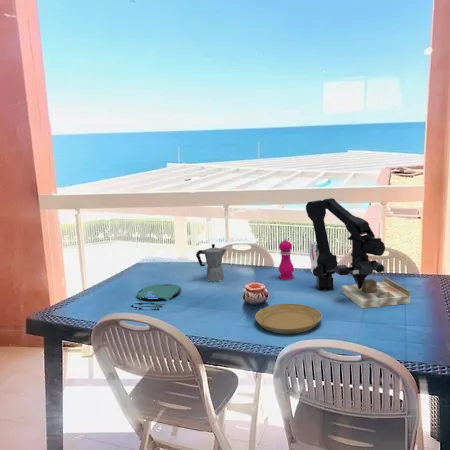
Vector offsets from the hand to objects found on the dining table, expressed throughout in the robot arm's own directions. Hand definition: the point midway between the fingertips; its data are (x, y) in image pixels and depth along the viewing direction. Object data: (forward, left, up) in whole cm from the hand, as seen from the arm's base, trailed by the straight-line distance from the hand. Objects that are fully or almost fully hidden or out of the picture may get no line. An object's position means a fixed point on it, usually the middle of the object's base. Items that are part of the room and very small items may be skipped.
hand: (359, 288), depth 187 cm
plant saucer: (-34, -16, -5) cm, 38 cm away
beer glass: (-3, +43, -5) cm, 44 cm away
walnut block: (+4, 0, -1) cm, 4 cm away
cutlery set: (-84, +27, -5) cm, 88 cm away
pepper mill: (-20, +38, -5) cm, 44 cm away
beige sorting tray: (+7, 0, -5) cm, 8 cm away
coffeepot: (-55, +47, -5) cm, 73 cm away
